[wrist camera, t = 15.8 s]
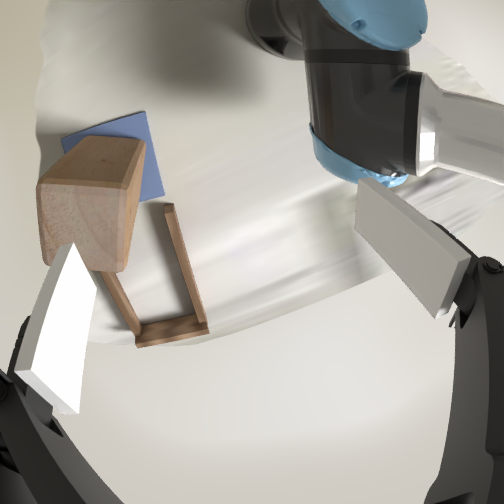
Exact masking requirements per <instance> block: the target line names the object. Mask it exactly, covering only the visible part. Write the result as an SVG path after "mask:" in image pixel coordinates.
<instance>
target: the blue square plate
mask: <svg viewBox="0 0 504 504" xmlns="http://www.w3.org/2000/svg"><path fill="white" fill-rule="evenodd" d="M89 135H93V136H109V137H121V138H133V139H141V140H143V141H145V143H146V152H145V159H144V166H143V174H142V182H141V191H140V198H139V202H141V201H145V200H149V199H153V198H157V197H161V196H165V193H164V189H163V185H162V181H161V177H160V173H159V169H158V165H157V161H156V157H155V153H154V148H153V144H152V140H151V135H150V131H149V126H148V122H147V117H146V112H142V113H138V114H134V115H131V116H127V117H124V118H121V119H117V120H114V121H111V122H108V123H105V124H101V125H98V126H95V127H93V128H90V129H87V130H84V131H81V132H78V133H76V134H73V135H70V136H68V137H65V138H63V139H61V142H62V145H63V148H64V152H65V154H66V153H67V152H69V151H70V150H71V149H72V148H73V147H74V146H75V145H76V144H78V143H79V142H80V141H81V140H82V139H83V138H85V137H87V136H89Z"/></svg>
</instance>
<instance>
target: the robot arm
mask: <svg viewBox="0 0 504 504" xmlns="http://www.w3.org/2000/svg"><path fill="white" fill-rule="evenodd" d="M427 21H428V16H427V9H426V5H425V1H424V0H248V2H247V5H246V22H247V26H248V28H249V31H250V33H251V34H252V36H253V38H254V39H255V40H256V41H257V43H258V44H259V45H260V46H261V47H263V48H264V49H265V50H267V51H268V52H270V53H271V54H273V55H275V56H278V57H280V58H283V59H288V60H305V69H306V79H307V88H308V99H309V110H310V124H309V128H310V132H311V134H312V138H313V145H314V153H315V156H316V158H317V160H318V161H319V162H320V163H321V165H322V166H323V167H324V168H325V169H326V170H328V171H329V172H330V173H332V174H334V175H335V176H337V177H339V178H341V179H344V180H346V181H349V182H352V183H355V184H358V191H357V205H356V218H355V229H356V230H357V232H358V233H359V234H360V235H361V236H362V237H363V238H364V239H365V240H366V241H367V242H368V243H369V244H370V245H371V246H372V247H373V248H374V250H375V251H376V252H377V253H378V254H379V255H380V256H381V257H382V258H383V259H384V260H385V262H386V263H387V264H388V265H389V266H390V267H391V268H392V269H393V271H394V272H395V273H396V274H397V275H398V276H399V277H400V278H401V280H402V281H403V282H404V283H405V284H406V285H407V287H409V289H410V290H411V291H412V292H413V294H414V295H415V296H416V297H417V298H418V300H419V301H420V302H421V303H422V304H423V306H424V307H425V308H426V309H427V310H428V312H429V313H430V314H431V315H432V317H433V318H434V319H436V318H439V317H441V316H443V315H444V314H446V313H448V312H449V309H450V307H451V305H452V303H453V301H454V302H455V303H456V305H457V306H458V307H457V309H456V311H455V313H454V315H453V317H452V319H451V321H450V323H449V327H451V326H452V324H453V323H454V321H455V327H454V328H455V332H456V334H455V369H454V382H453V393H452V403H451V411H450V418H449V425H448V431H447V437H446V443H445V448H444V453H443V458H442V462H441V467H440V471H439V474H438V477H437V478H436V480H435V481H434V483H433V484H432V486H431V487H430V489H429V491H428V493H427V496H426V498H425V501H424V504H504V266H502V264H501V263H500V262H498V261H497V260H495V259H493V258H491V257H486V256H483V257H480V258H478V257H477V256H476V255H475V254H474V253H473V252H472V251H471V250H470V249H468V248H467V247H466V246H465V245H464V244H463V243H462V242H461V241H459V240H458V239H456V237H455V236H454V235H452V234H451V233H449V231H448V230H446V229H445V228H444V227H443V226H442V225H440V224H438V223H436V222H434V221H432V220H429V219H428V218H426V217H425V216H424V215H423V214H421V213H420V212H419V211H417V210H416V209H415V208H414V207H412V206H411V205H410V204H408V203H407V202H406V201H404V200H403V199H402V198H400V197H399V196H398V195H396V194H395V193H394V192H392V191H391V190H389V189H388V188H387V187H394V186H397V185H399V184H401V183H403V182H404V181H405V179H406V178H407V177H408V175H409V174H410V175H415V176H419V177H421V176H423V175H424V174H425V173H427V172H428V171H430V170H431V169H432V168H435V167H440V168H444V169H448V170H452V171H456V172H459V173H463V174H467V175H470V176H473V177H477V178H480V179H484V180H487V181H490V182H493V183H496V184H499V185H502V186H504V105H502V104H499V103H496V102H492V101H489V100H485V99H482V98H478V97H474V96H470V95H466V94H461V93H457V92H452V91H447V90H444V89H442V88H440V87H439V86H438V85H437V84H436V83H435V82H434V80H433V79H432V78H431V77H430V76H429V75H428V74H427V73H422V72H416V71H411V70H410V62H409V48H410V47H412V46H414V45H416V44H417V43H418V42H420V40H421V39H422V37H421V34H423V33H425V32H426V28H427ZM96 291H97V288H96V286H95V284H94V282H93V280H92V279H91V277H90V275H89V273H88V271H87V269H86V267H85V265H84V263H83V261H82V259H81V257H80V255H79V253H78V250H77V248H76V246H75V244H74V242H72V243H69V244H65V245H62V246H60V247H59V249H58V251H57V253H56V255H55V258H54V260H53V262H52V264H51V266H50V269H49V271H48V273H47V276H46V278H45V281H44V283H43V285H42V288H41V290H40V293H39V295H38V298H37V301H36V303H35V306H34V308H33V311H32V314H31V315H30V316H28V317H27V318H26V320H25V321H24V323H23V324H22V326H21V328H20V331H19V334H18V339H17V340H16V343H15V348H14V350H13V353H12V357H11V360H10V364H9V367H8V371H7V375H6V374H5V373H4V372H3V371H2V370H1V369H0V504H124V503H123V502H122V501H121V500H120V499H119V498H118V497H117V496H116V495H115V494H114V493H113V492H112V491H111V489H110V488H109V487H108V486H107V485H106V484H105V483H104V482H103V480H102V479H101V478H100V477H99V476H98V475H97V473H96V472H95V471H94V470H93V469H92V467H91V466H90V465H89V464H88V462H87V461H86V460H85V459H84V457H83V456H82V455H81V453H80V452H79V451H78V449H77V448H76V447H75V445H74V444H73V442H72V441H71V440H70V438H69V437H68V435H67V434H66V432H65V431H64V429H63V428H62V427H61V425H60V424H59V422H58V420H57V419H56V418H55V417H54V416H53V415H52V409H53V407H54V408H55V409H56V410H57V411H58V412H60V413H61V414H62V415H64V414H79V405H80V393H81V382H82V373H83V365H84V357H85V350H86V344H87V338H88V332H89V326H90V320H91V315H92V310H93V305H94V300H95V295H96Z"/></svg>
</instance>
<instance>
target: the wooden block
mask: <svg viewBox="0 0 504 504" xmlns="http://www.w3.org/2000/svg"><path fill="white" fill-rule="evenodd" d="M145 152H146V143H145V141H143V140H141V139H133V138H121V137H109V136H93V135H89V136H87V137H85V138H83V139H82V140H81V141H80V142H79V143H78V144H76V145H75V146H74V147H73V148H72V149H71V150H70V151H69V152H67V153H66V154H65V155H64V156H63V157H62V158H61V159H60V160H59V161H58V162H57V163H56V164H55V165H53V166H52V167H51V168H50V169H49V170H48V171H47V172H46V173H45V174H44V175H43V176H42V177H41V178H40V179H39V180H38V183H37V186H36V200H37V215H38V224H39V235H40V243H41V250H42V256H43V261H44V263H45V264H46V265H48V266H51V264H52V262H53V260H54V258H55V255H56V253H57V251H58V249H59V247H60V246H62V245H65V244H69V243H72V242H74V244H75V246H76V248H77V250H78V253H79V255H80V257H81V259H82V261H83V263H84V265H85V267H86V269H87V270H93V271H104V272H116V273H118V272H122V271H123V270H124V269H125V267H126V265H127V262H128V256H129V250H130V244H131V238H132V233H133V227H134V222H135V217H136V212H137V207H138V202H139V198H140V191H141V182H142V174H143V166H144V159H145Z"/></svg>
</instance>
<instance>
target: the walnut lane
mask: <svg viewBox="0 0 504 504" xmlns="http://www.w3.org/2000/svg"><path fill="white" fill-rule="evenodd" d="M165 217H166V221H167V224H168V228H169V231H170V234H171V238H172V241H173V244H174V248H175V251H176V254H177V257H178V261H179V264H180V267H181V270H182V273H183V276H184V279H185V282H186V285H187V288H188V291H189V294H190V297H191V300H192V303H193V306H194V309H195V312H196V314H193V315H188V316H184V317H179V318H175V319H170V320H165V321H161V322H156V323H151V324H146V325H141V323H140V321H139V319H138V317H137V316H136V314H135V312H134V310H133V308H132V306H131V304H130V302H129V300H128V298H127V296H126V294H125V292H124V290H123V288H122V286H121V284H120V282H119V280H118V278H117V276H116V273H115V272H104V271H100V273H101V275H102V277H103V279H104V281H105V283H106V285H107V287H108V289H109V291H110V293H111V295H112V297H113V299H114V300H115V302H116V304H117V306H118V308H119V310H120V311H121V313H122V315H123V317H124V318H125V320H126V322H127V324H128V325H129V327H130V329H131V331H132V332H133V334H134V336H135V345H136V346H137V348H142V347H147V346H153V345H158V344H163V343H168V342H172V341H177V340H182V339H187V338H191V337H196V336H200V335H205V334H209V328H208V323H207V318H206V314H205V311H204V308H203V305H202V301H201V298H200V295H199V292H198V289H197V285H196V282H195V279H194V275H193V272H192V269H191V265H190V262H189V258H188V255H187V251H186V248H185V244H184V241H183V237H182V234H181V230H180V226H179V223H178V219H177V215H176V211H175V207H174V204H170V205H166V206H165Z"/></svg>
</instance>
